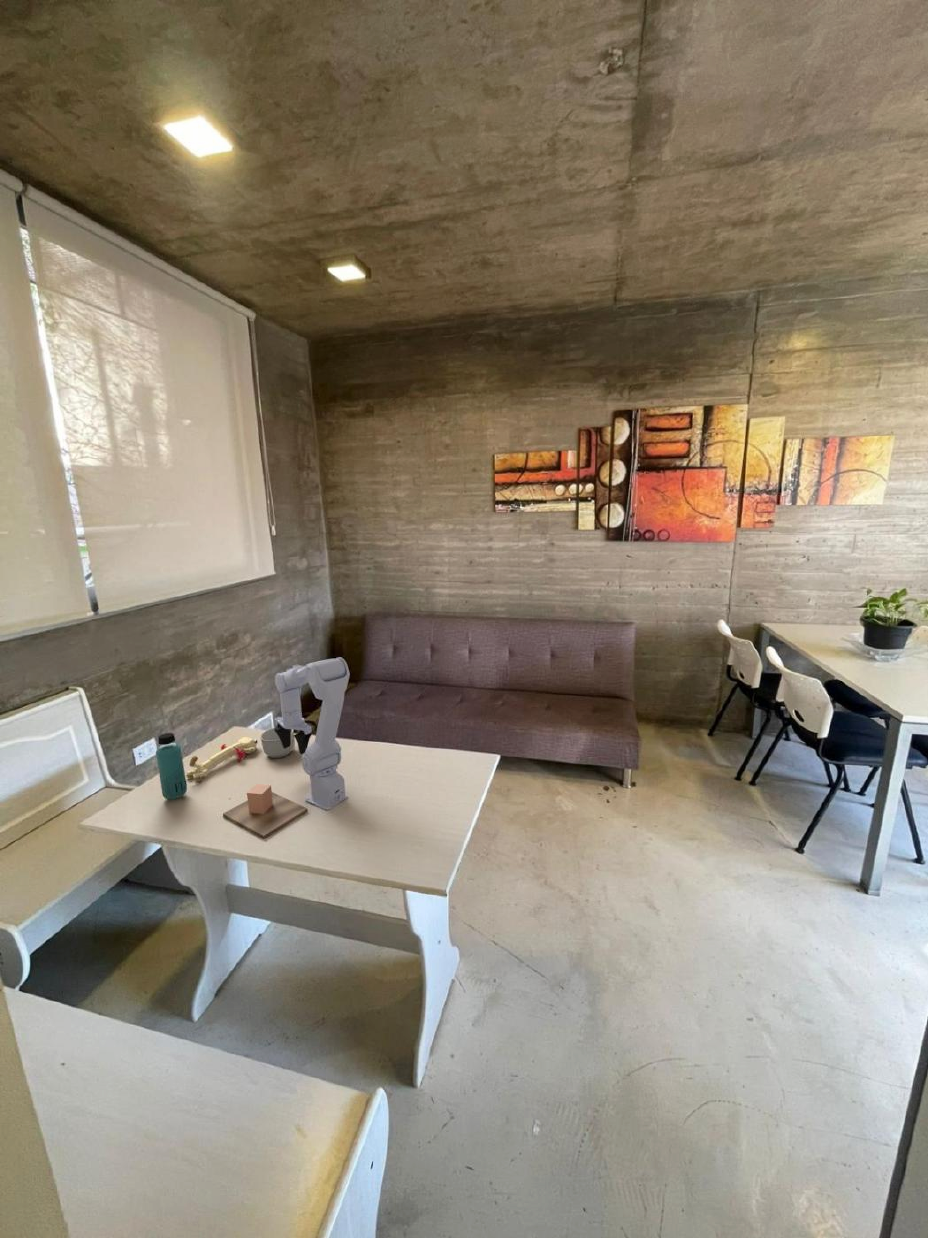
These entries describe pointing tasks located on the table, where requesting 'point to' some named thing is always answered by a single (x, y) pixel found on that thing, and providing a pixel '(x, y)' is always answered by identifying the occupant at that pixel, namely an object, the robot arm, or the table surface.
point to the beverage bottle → (171, 767)
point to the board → (266, 816)
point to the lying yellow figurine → (221, 757)
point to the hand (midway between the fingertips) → (295, 750)
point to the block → (260, 799)
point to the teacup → (275, 744)
